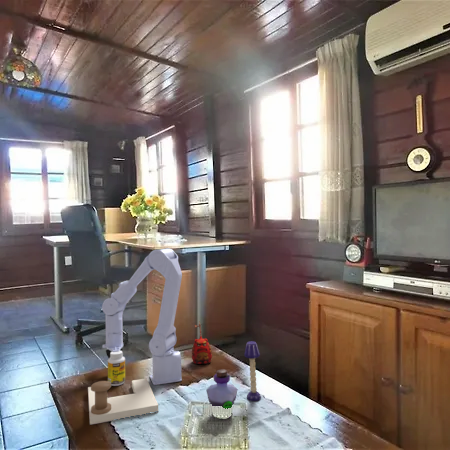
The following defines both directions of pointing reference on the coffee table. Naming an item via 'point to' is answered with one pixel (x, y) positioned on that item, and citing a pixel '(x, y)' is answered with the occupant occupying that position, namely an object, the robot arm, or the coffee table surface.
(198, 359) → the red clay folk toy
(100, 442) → the coffee table surface
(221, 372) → the potion bottle
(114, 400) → the notched board
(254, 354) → the toy lamp
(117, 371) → the supplement bottle
